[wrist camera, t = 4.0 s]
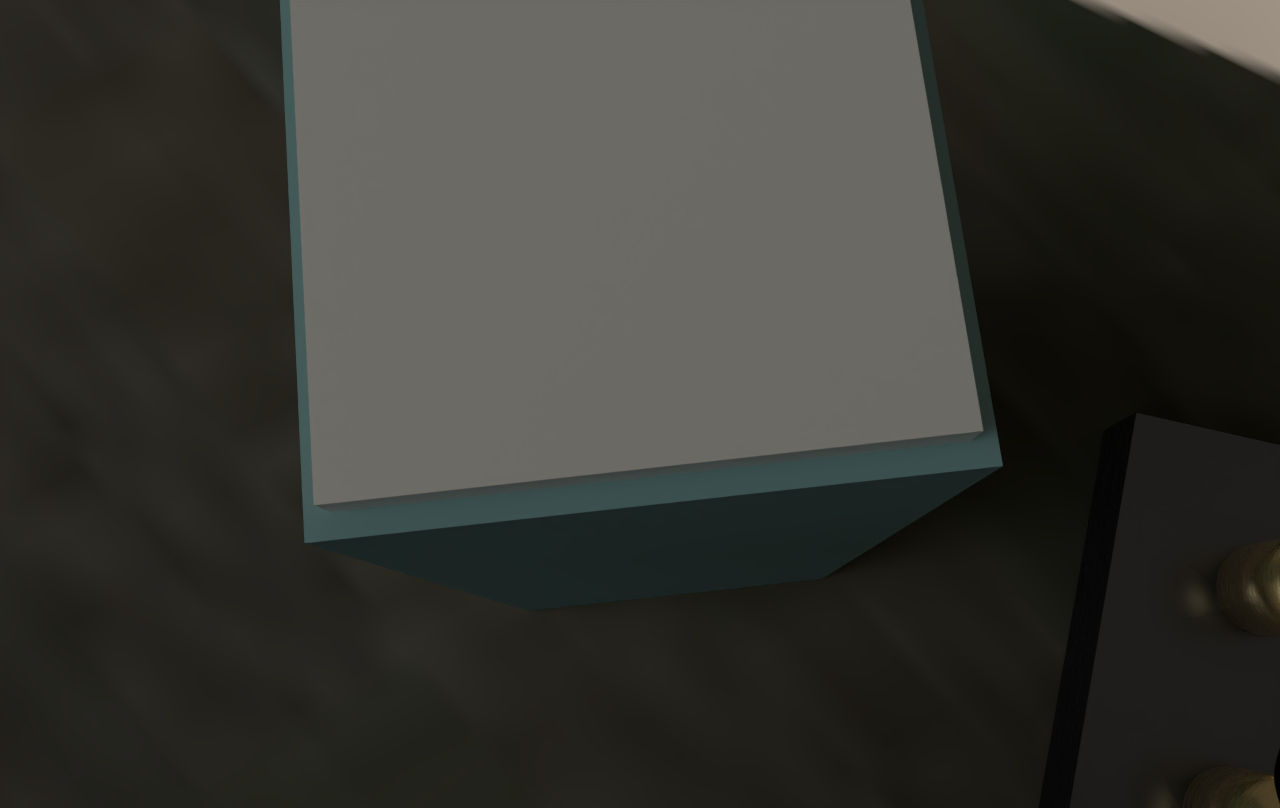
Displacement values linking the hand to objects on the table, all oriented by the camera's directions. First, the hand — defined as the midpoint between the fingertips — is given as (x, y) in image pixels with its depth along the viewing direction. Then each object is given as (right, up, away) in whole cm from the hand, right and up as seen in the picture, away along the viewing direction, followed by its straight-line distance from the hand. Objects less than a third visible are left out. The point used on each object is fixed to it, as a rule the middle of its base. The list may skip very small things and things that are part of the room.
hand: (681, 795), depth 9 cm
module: (0, +2, +12) cm, 12 cm away
